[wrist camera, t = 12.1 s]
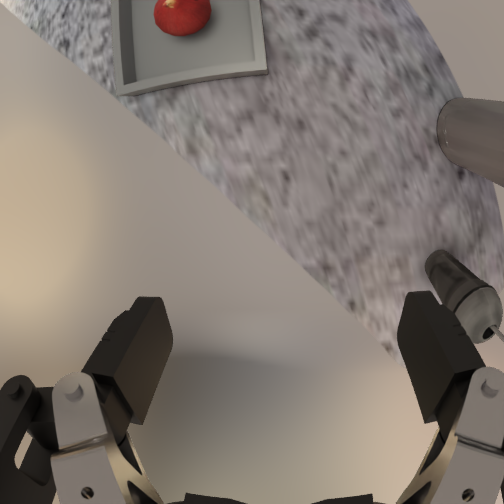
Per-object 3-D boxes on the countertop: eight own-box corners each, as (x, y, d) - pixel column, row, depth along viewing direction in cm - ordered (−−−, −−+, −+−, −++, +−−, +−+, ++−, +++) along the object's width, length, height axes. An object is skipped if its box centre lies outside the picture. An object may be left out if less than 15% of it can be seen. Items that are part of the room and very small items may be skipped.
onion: (172, -1, 24) (146, -24, 17) (221, -1, 24) (205, -28, 17) (163, 42, 27) (134, 27, 20) (213, 42, 27) (194, 25, 20)
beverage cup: (407, 276, 39) (467, 382, 21) (433, 233, 36) (516, 325, 18) (440, 290, 40) (499, 387, 22) (465, 251, 37) (541, 338, 19)
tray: (254, -40, 22) (251, -56, 18) (268, 74, 29) (266, 69, 25) (127, -12, 24) (111, -22, 20) (134, 96, 31) (116, 96, 27)
